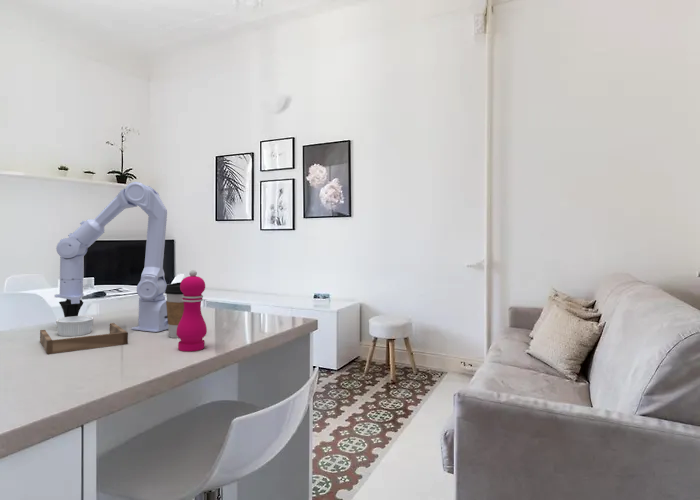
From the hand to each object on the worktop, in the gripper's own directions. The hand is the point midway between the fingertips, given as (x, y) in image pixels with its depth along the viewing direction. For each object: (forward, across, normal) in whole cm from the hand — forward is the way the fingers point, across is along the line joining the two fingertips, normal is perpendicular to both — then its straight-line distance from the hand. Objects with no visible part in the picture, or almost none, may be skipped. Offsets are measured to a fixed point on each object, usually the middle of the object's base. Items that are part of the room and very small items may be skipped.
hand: (70, 325), depth 124 cm
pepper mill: (+1, +41, +20) cm, 46 cm away
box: (+1, +20, 0) cm, 20 cm away
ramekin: (+2, +7, 0) cm, 7 cm away
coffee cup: (+1, +26, +23) cm, 34 cm away
